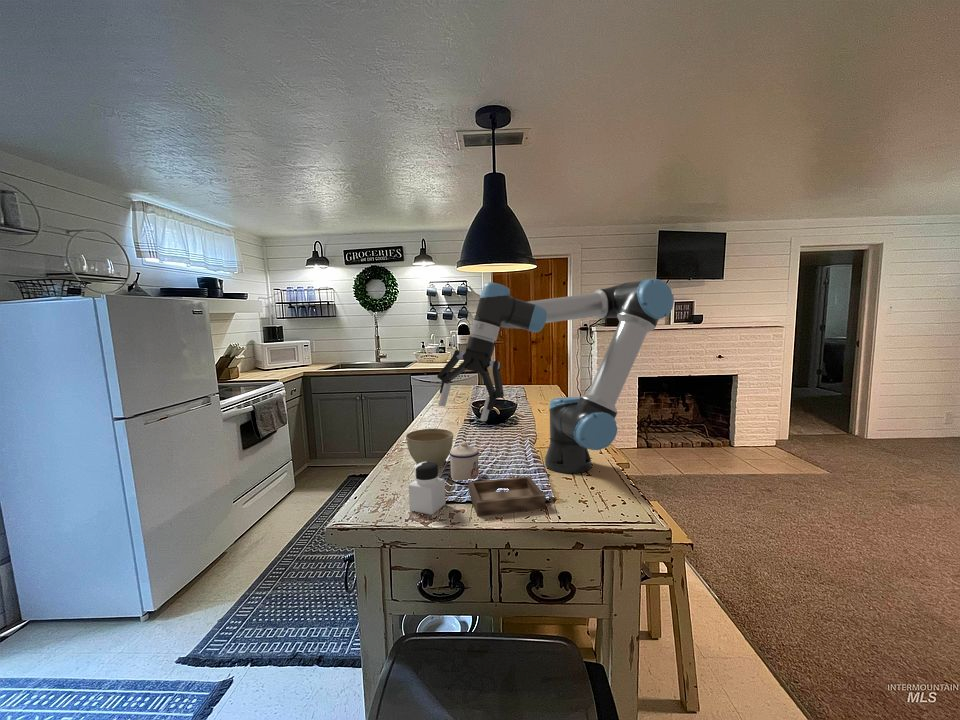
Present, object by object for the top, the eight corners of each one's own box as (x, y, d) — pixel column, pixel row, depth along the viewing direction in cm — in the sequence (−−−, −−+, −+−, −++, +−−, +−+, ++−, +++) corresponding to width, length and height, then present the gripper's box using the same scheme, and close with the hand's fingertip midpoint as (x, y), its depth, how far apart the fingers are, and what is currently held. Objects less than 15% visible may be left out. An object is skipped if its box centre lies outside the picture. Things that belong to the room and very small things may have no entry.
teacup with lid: (477, 485, 126) (476, 447, 125) (447, 484, 128) (446, 446, 126) (482, 470, 138) (481, 436, 137) (455, 470, 139) (454, 435, 138)
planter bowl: (438, 476, 134) (437, 443, 133) (397, 469, 141) (396, 438, 140) (462, 460, 149) (461, 430, 148) (424, 455, 156) (423, 426, 155)
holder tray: (529, 487, 123) (529, 476, 123) (545, 508, 109) (545, 495, 109) (468, 493, 120) (468, 482, 120) (477, 516, 106) (477, 502, 106)
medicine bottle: (446, 504, 114) (444, 461, 113) (432, 515, 107) (430, 470, 106) (423, 500, 117) (422, 458, 116) (409, 510, 110) (407, 466, 109)
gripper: (438, 326, 118) (418, 399, 118) (518, 347, 107) (496, 427, 107) (451, 331, 125) (432, 400, 125) (528, 351, 114) (507, 426, 114)
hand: (461, 413), depth 116 cm, fingers open, 13 cm apart
